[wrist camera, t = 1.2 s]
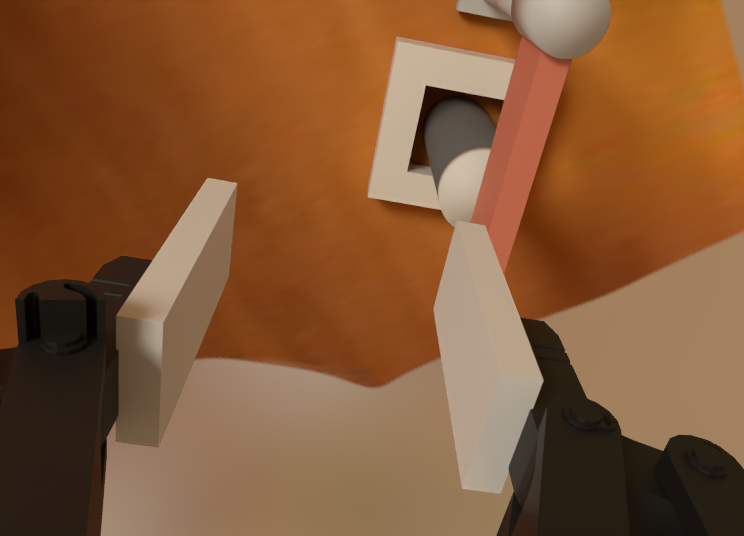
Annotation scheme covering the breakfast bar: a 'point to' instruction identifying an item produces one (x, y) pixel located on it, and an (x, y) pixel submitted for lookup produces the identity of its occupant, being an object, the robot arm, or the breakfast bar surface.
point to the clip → (532, 106)
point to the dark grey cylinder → (458, 153)
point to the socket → (405, 95)
